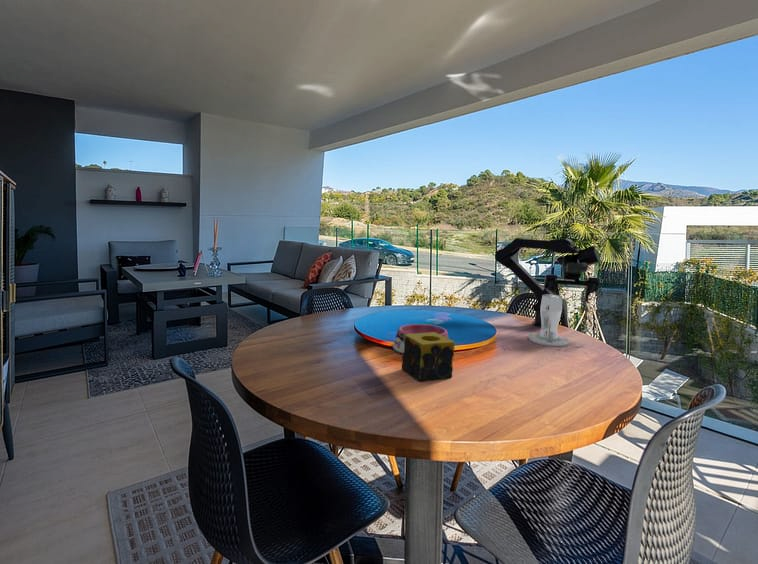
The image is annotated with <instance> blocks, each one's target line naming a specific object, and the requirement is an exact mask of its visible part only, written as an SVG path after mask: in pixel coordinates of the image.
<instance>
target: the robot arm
mask: <svg viewBox="0 0 758 564" xmlns="http://www.w3.org/2000/svg"><path fill="white" fill-rule="evenodd" d="M522 248H525V249H534V250H535V249H537V250H547V251H551V252H554V253H558V254H562V255H560V256H559V257H557V258H556V259H555V260H556V261H557V263H558V264H559V265H560V266H561V265H562V267H561V268H562V278H558V275H557V274H548V273H547V274H546V275H545V277H544V281H543V285H542V284H541V283H539V282H538V280H537V279H535V277H533V276H532V275H531V274H530V272H529V271H527V270H526V269H525V268H524V267H523V265H522V264H520V262H519V261H518V258H517V257H516V254H518V252H519V251H520V250H522ZM564 254H565V255H564ZM494 259H495V261H497V262H498V263H499V264H501V265H502V266H503V267H505V268H507V269H509V270H510V271H511V272H512V273H513V274H514V275H515V276H516V277H517V278H518V279H519V280H520V281H521V283H523V284H524V285H525V286H526V287H527V288H528V289H529V290H530V291H531V292H532V293H533V295H534V297H535V300H536V301H537V302H536V303H534V304H533V305H532V309H533V311H534V312H535V313H534V321H532V325H533V326H536V327H541V312H540V309H541V301H542V295H543V294H553V295H559V296H560V291H559V285H563V286H568V287H569V286H571V287H584V289H585V290H584V303H585V304H586V303H587V302H588V298H589V296H590V294H594V293H595V292H598V290H599V287H600V284H601V279H600V278H599V277H594V276H593V277H591V276H587V279H586V280H580V279H581V278H582V273H586V272H587V271H588V266H592V265H597V264H599V263H601V256H600V253H599V252H598V249H597V248H596V246H595V245H591V246H588V247H586V248H583V249H581V248H579V247H578V246H577V245H576V244H575V242H574V241H573V240H572V239H570V238H562V239H561V238H559V239H552V240H551V239H550V240H546V239H534V238H533V239H530V238H523V237H516V238H514V239H513V240H512V241H511V242H509V243H508V244H507V245H505V246H504V247H503V248H502V249H498V250H497V251H496V252H495V254H494Z"/></svg>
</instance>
